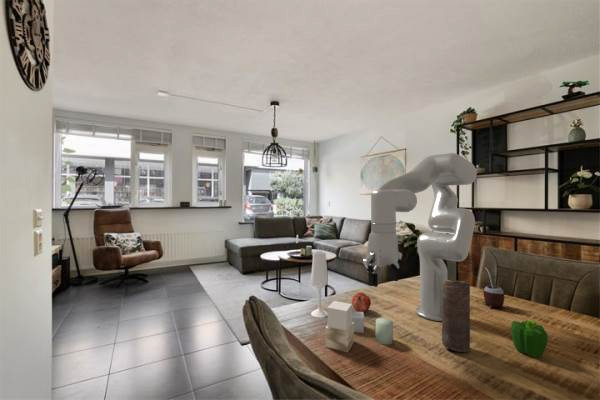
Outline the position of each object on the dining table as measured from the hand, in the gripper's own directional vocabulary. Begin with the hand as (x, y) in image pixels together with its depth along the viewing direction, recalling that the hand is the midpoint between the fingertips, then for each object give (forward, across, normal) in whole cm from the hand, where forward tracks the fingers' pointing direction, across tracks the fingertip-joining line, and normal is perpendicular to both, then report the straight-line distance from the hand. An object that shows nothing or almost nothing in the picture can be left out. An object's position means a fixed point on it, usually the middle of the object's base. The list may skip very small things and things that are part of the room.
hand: (383, 282), depth 88 cm
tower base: (+18, +13, -6) cm, 23 cm away
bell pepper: (+18, -29, +28) cm, 45 cm away
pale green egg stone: (+18, 0, 0) cm, 18 cm away
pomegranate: (+18, -11, -20) cm, 30 cm away
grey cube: (+18, +2, -10) cm, 21 cm away
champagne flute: (+18, +4, -27) cm, 33 cm away
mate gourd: (+18, -59, +8) cm, 62 cm away
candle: (+18, -14, +15) cm, 28 cm away
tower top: (+12, +13, -6) cm, 19 cm away
